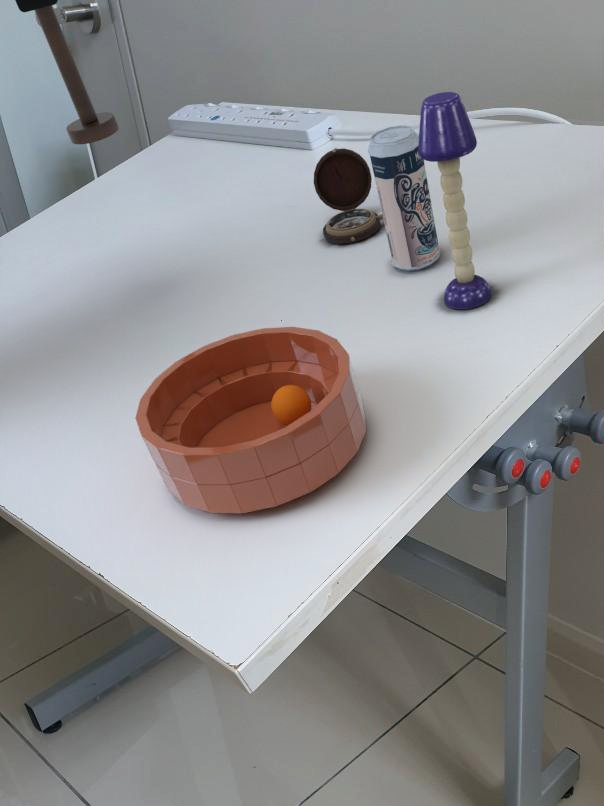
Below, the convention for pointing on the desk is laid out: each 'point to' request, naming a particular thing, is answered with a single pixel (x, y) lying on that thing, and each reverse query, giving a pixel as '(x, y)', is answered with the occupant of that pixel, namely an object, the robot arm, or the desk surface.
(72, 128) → the stick
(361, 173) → the compass
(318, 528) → the desk surface
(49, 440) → the desk surface
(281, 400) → the ball
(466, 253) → the toy lamp
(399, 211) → the beer can
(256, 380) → the bowl
